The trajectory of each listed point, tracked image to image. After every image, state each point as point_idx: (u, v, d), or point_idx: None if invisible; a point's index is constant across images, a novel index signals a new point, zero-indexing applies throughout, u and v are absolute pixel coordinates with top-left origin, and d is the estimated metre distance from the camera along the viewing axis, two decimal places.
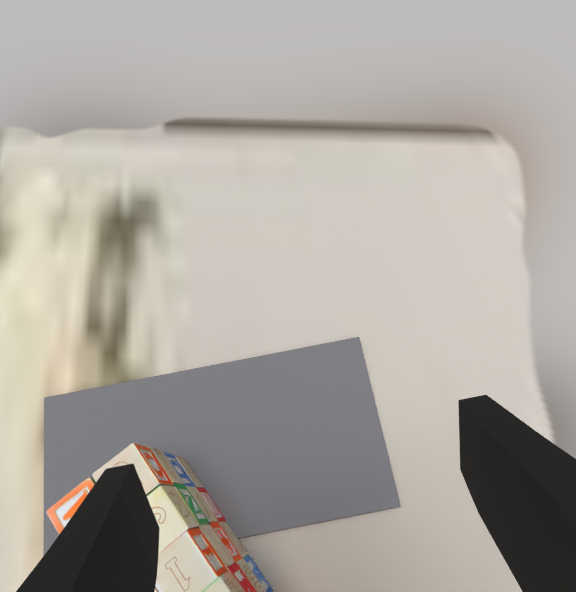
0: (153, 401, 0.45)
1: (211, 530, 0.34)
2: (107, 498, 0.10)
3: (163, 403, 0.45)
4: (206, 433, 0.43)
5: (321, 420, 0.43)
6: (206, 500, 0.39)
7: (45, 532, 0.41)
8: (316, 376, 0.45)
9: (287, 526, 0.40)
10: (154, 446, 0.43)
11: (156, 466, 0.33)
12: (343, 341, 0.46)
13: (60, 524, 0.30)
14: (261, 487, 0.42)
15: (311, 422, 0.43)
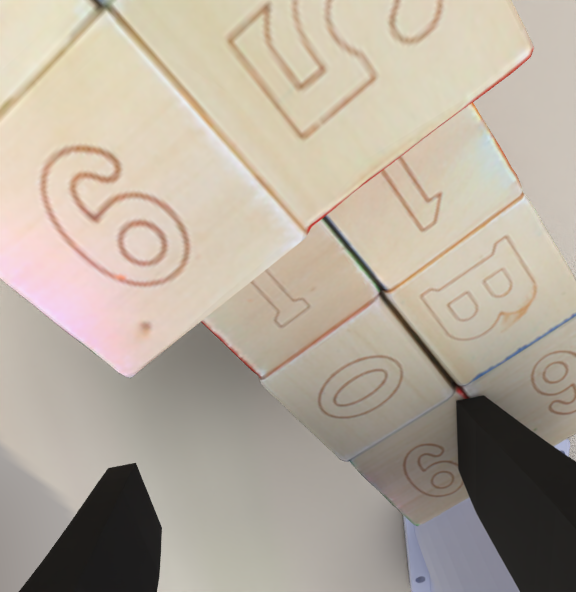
0: None
1: None
2: (110, 498, 0.10)
3: None
4: None
5: None
6: None
7: None
8: None
9: None
10: None
11: None
12: None
13: None
14: None
15: None
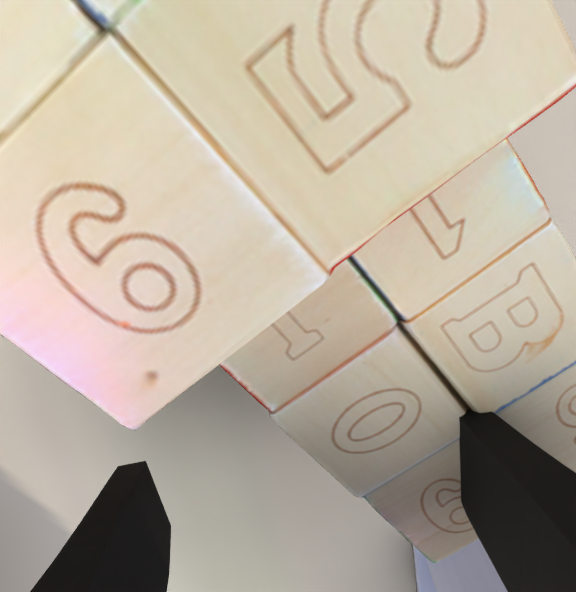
0: None
1: None
2: (121, 496, 0.10)
3: None
4: None
5: None
6: None
7: None
8: None
9: None
10: None
11: None
12: None
13: None
14: None
15: None
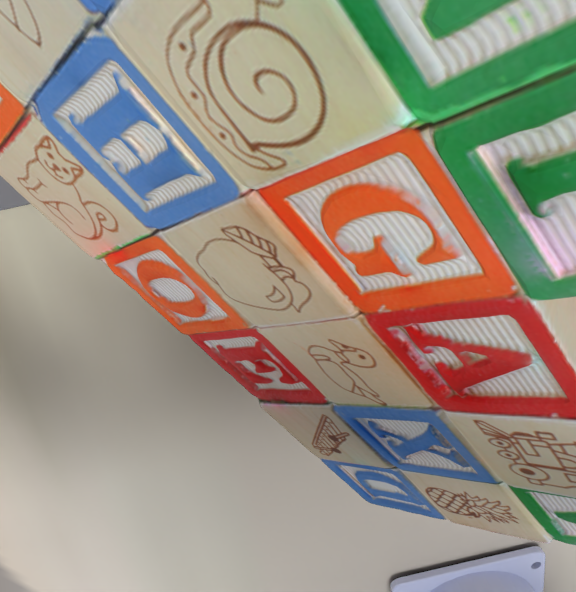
0: None
1: None
2: None
3: None
4: None
5: None
6: None
7: None
8: None
9: None
10: None
11: None
12: None
13: None
14: None
15: None
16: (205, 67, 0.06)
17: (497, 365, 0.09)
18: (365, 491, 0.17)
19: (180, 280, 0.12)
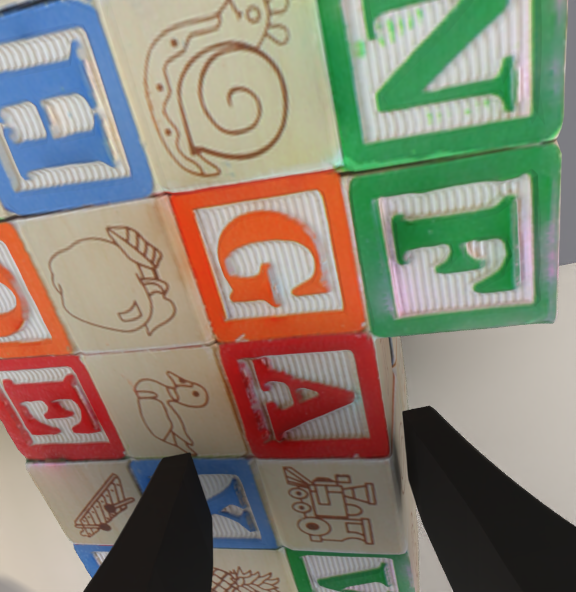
0: None
1: None
2: (171, 486, 0.10)
3: None
4: None
5: None
6: None
7: None
8: None
9: None
10: None
11: None
12: None
13: None
14: None
15: None
16: (188, 67, 0.08)
17: (325, 403, 0.10)
18: None
19: (8, 284, 0.10)
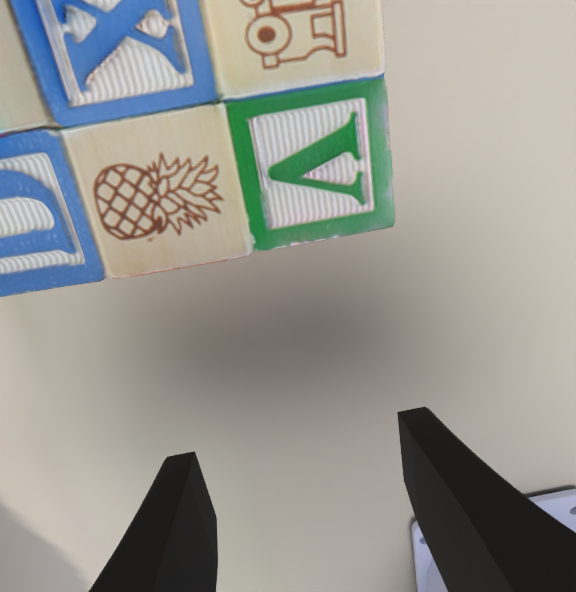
0: None
1: None
2: (176, 484, 0.10)
3: None
4: None
5: None
6: None
7: None
8: None
9: None
10: None
11: None
12: None
13: None
14: None
15: None
16: None
17: None
18: None
19: None
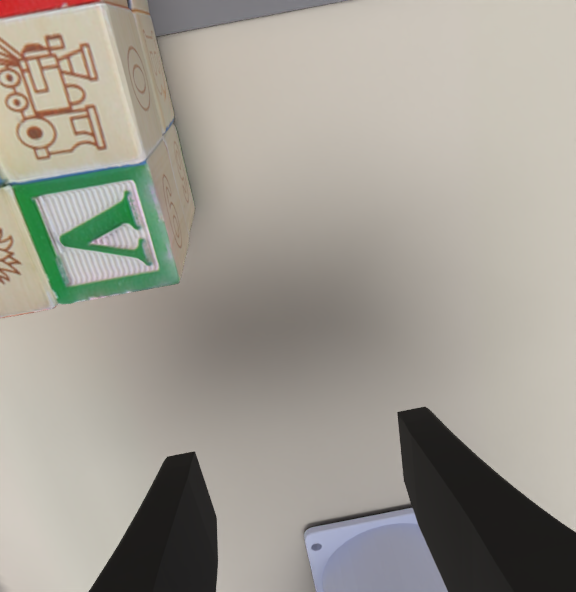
0: None
1: None
2: (176, 485, 0.10)
3: None
4: None
5: None
6: None
7: None
8: None
9: (224, 16, 0.16)
10: None
11: None
12: None
13: None
14: None
15: None
16: None
17: None
18: None
19: None
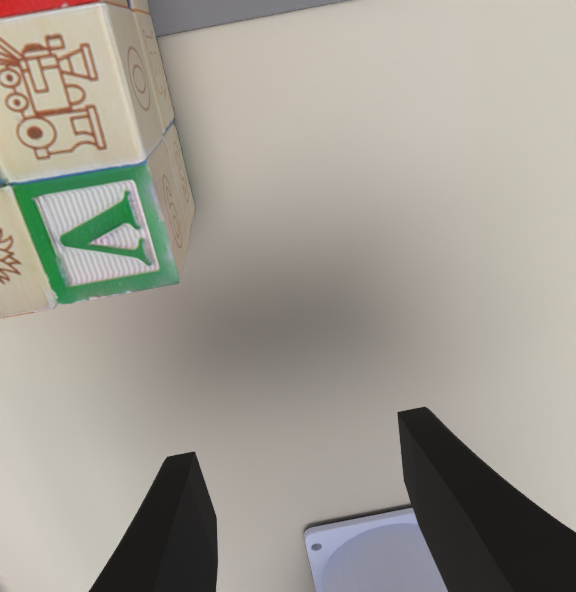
0: None
1: None
2: (176, 485, 0.10)
3: None
4: None
5: None
6: None
7: None
8: None
9: (224, 16, 0.16)
10: None
11: None
12: None
13: None
14: None
15: None
16: None
17: None
18: None
19: None
